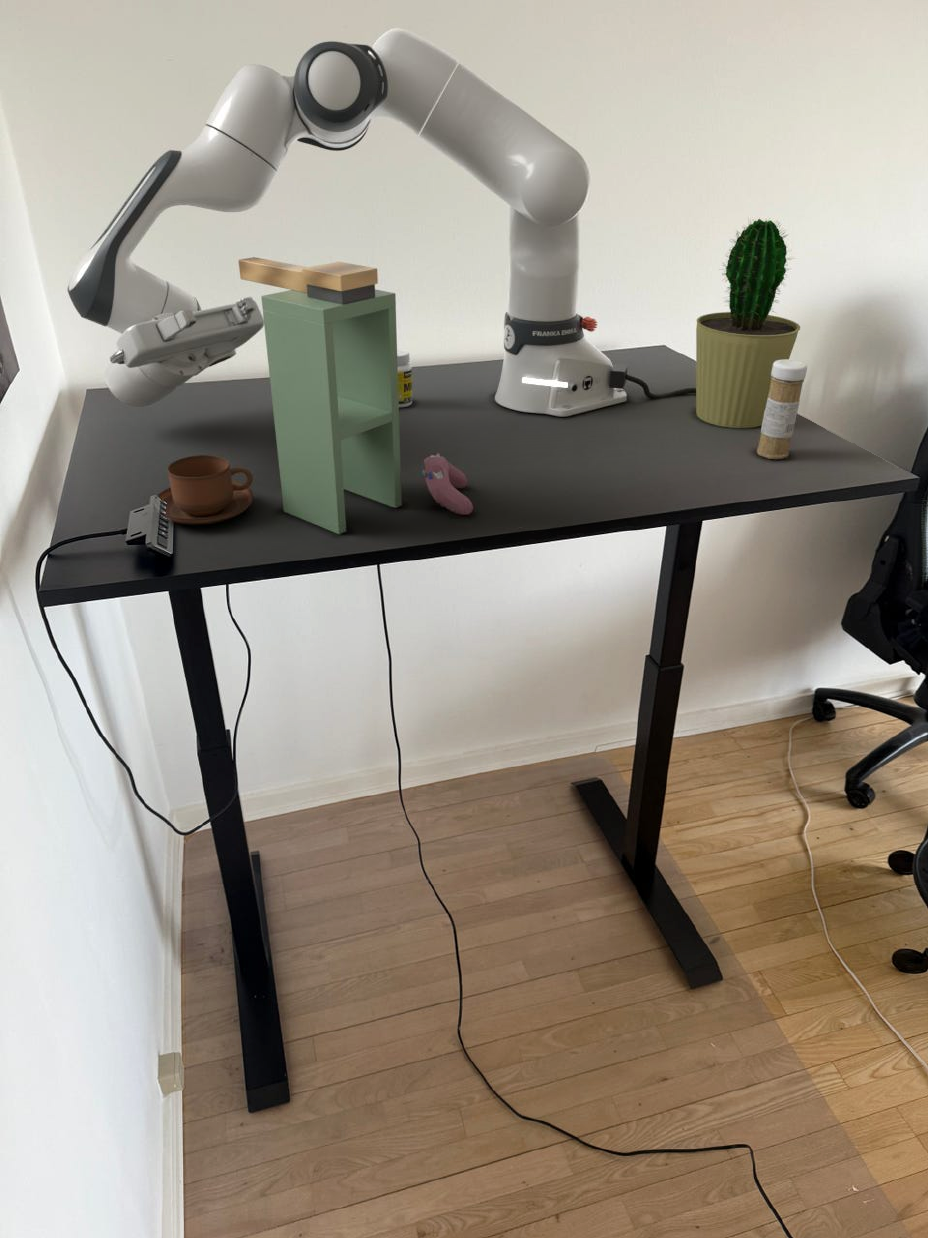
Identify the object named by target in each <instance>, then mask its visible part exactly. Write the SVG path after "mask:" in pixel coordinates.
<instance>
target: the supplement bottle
mask: <svg viewBox="0 0 928 1238" xmlns="http://www.w3.org/2000/svg"><path fill="white" fill-rule="evenodd" d="M410 360H411V357H410V352H409V351H407V350H403V349H397V364H398V398H399V408H407V407H410V406H411V405H412V404H413V372H412V371H413V367H412V365H411V363H410Z"/></svg>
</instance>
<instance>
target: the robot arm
mask: <svg viewBox="0 0 928 1238" xmlns="http://www.w3.org/2000/svg"><path fill="white" fill-rule="evenodd" d="M377 117H384V118H389V119H391V120H394V121H396V122H397V123H401V124H402V125H404V126H405V127H406V128H407V129H408V130H409V131H411V132H413V133H414V134H415V135H417V136H419V138H420V139H422V140H423V141H424V142H426V143H427V144H429V145H430V146H431V147H433V148H434V149H435V150H437V151H439V152H440V153H441V154H442V155H444V156H446V157H447V158H448V159H449V160H451V161H453V162H454V164H457V165H458V166H459V167H461V168H462V169H463V170H465V171H466V172H467V173H468V174H469V175H470V176H471V177H473V178H474V179H476V181H478V182H480V184H482V185H483V186H485V187H486V188H487V189H488V190H490V191H491V192H492V193H493V194H495V195H496V196H497V197H499V198H500V199H501V200H502V201H503V202H505V203H506V204H508V205H509V223H508V224H509V225H508V226H509V227H508V228H509V229H508V231H509V232H508V233H509V235H508V236H509V237H508V280H507V281H508V285H507V311H506V312H505V313H504V321H503V349H504V353H503V362H502V367H501V372H500V377H499V378H500V379H499V382H498V385H497V390H496V393H495V395H494V401H495V402H496V403H497V404H498V405H500V406H502V407H504V408H507V409H510V410H513V411H516V412H517V411H518V412H523V413H531V414H543V415H544V414H545V415H549V416H553V417H554V416H555V417H562V418H563V417H570V416H573V415H578V414H581V413H586V412H589V411H593V410H598V409H601V408H605V407H608V406H609V407H610V406H613V405H617V404H621V403H624V402H627V400H628V399H627V396H628V395H627V392H626V391H625V390H624V388H625V385H626V383H627V381H629V382H631V383H634V384H637V385H639V386H640V387H641V388H642V390H643V393H644V396H645V397H647V398H648V399H651V400H659V399H665V398H666V399H667V398H671V397H678V396H681V395H686V394H696V387H688V388H687V387H686V388H681V389H678V390H673V391H670V392H667V393H663V394H656V393H652V392H651V391H650V388H649V385H648V384H647V383H646V381H644V380H642V379H640V378H638V377H635V376H633V375H630V374H628V367H629V365H628V364H618V363H614V364H613V363H612V361H611V359H610V358H609V357H608V356H607V355H606V354H604V353H603V352H602V351H601V350H600V349H598V348H597V347H596V346H595V345H594V344H593V343H591V341H589V340H588V339H587V338H585V333H584V330H586V331H588V332H590V333H592V332H594V331H596V329H597V328H598V321H597V320H596V319H595V318H592V317H590V316H585V317H583V316H582V315H580V314H578V313H577V309H578V307H577V306H578V294H579V278H580V264H581V261H580V260H581V257H580V221H581V220H580V217H581V211H582V210H583V208H584V206H585V205H586V203H587V199H588V197H589V194H590V190H591V175H590V171H589V168H588V164H587V162H586V160H585V158H584V157H583V155H582V154H581V153H580V152H579V151H578V150H577V149H575V148H574V147H573V146H572V145H570V144H569V143H567V141H565V140H564V139H562V138H561V137H560V136H558V135H557V134H556V133H554V132H553V131H551V130H550V129H549V128H548V127H546V126H545V125H544V124H543V123H541V122H540V121H539V120H537V119H536V118H534V117H533V116H532V115H530V114H529V113H528V112H526V111H525V110H524V109H523V108H521V106H518V105H517V104H516V103H515V102H513V101H512V100H511V99H509V98H508V97H507V96H505V95H504V94H503V93H501V92H500V91H499V90H498V89H496V88H495V87H494V86H492V85H491V84H490V83H489V82H487V81H485V79H483V78H482V77H481V76H479V75H478V74H477V73H475V72H474V71H472V69H470V68H469V67H468V66H466V65H465V64H463V63H462V62H461V61H459V60H458V59H457V58H456V57H454V56H452V55H451V54H450V53H448V52H447V51H445V50H444V49H442V48H441V47H439V46H437V45H436V44H435V43H433V42H431V41H429V40H427V39H425V38H424V37H422V36H420V35H418V34H416V33H413V32H411V31H410V30H407V29H405V28H400V27H398V28H397V27H395V28H391V29H388V30H387V31H385V32H384V33H382V35H380V36H379V37H378V38H377V40H376V41H375V42H374V43H373V45H372V46H370V45H368V44H360V43H347V42H343V41H335V40H334V41H333V40H332V41H331V40H330V41H323V42H319V43H317V44H315V45H313V46H312V47H310V48H309V49H308V50H307V51H306V52H305V53H304V54H303V55H302V57H301V58H300V60H299V62H298V64H297V65H296V68H295V72H294V75H293V76H286V75H282V74H280V73H279V72H278V71H276V70H274V69H273V68H271V67H269V66H266V65H262V64H256V63H253V64H247V65H245V66H243V67H241V68H240V69H239V70H238V71H237V72H236V73H235V75H234V76H233V77H232V79H231V80H230V81H229V82H228V84H227V86H226V87H225V89H224V90H223V92H222V93H221V95H220V97H219V98H218V100H217V101H216V103H215V105H214V107H213V109H212V110H211V113H210V114H209V117H208V118H207V121H206V123H205V125H204V127H203V128H202V130H201V132H200V134H199V135H198V136H197V137H196V139H195V140H194V141H193V142H192V143H190V144H189V145H188V146H186V147H185V148H184V149H182V150H173V149H169V150H168V151H165V152H164V153H163V154H162V155H161V156H159V158H158V159H157V160H155V162H153V164H152V165H151V166H150V168H149V169H148V170H147V171H146V173H145V174H144V175H143V177H142V178H141V180H140V181H139V182H138V183H137V184H136V186H135V188H134V189H132V192H131V193H130V194H129V196H128V197H127V198H126V199H125V201H124V203H123V204H122V205H121V206H120V208H119V209H118V211H117V213H116V214H115V215H114V217H113V218H112V219H111V221H110V222H109V224H108V225H107V226H106V228H105V230H104V231H103V232H102V233H101V234H100V236H99V238H98V239H97V240H96V241H95V243H93V245H92V246H91V248H89V250H88V251H87V252H86V253H85V254H84V255H83V256H82V257H81V258H80V259H79V260H78V261H77V263H76V264H75V266H74V268H73V269H72V271H71V274H70V276H69V280H68V284H67V293H68V296H69V299H70V300H71V303H72V305H73V306H74V308H75V310H76V311H77V313H78V314H79V316H80V317H81V318H83V319H85V320H87V321H90V322H92V323H95V324H98V325H101V326H102V327H107V328H109V329H111V330H114V331H116V332H117V333H120V336H119V337H118V338H117V341H116V348H118V349H117V350H116V351H115V352H113V353H112V354H111V355H110V356H109V363H108V366H107V368H106V370H105V375H104V378H105V383H106V386H107V388H108V389H109V391H110V392H111V394H112V395H113V396H114V398H116V399H117V400H119V401H120V402H122V403H124V404H126V405H128V406H131V407H136V408H143V407H147V406H152V405H153V404H156V403H158V402H159V401H162V400H163V399H165V398H166V397H167V396H169V395H170V394H172V393H173V392H174V391H175V390H176V389H177V387H180V386H182V385H184V384H185V383H187V382H188V381H189V380H190V379H192V378H194V377H196V376H198V375H199V374H201V373H202V372H203V371H205V370H206V369H207V368H210V367H212V366H213V367H214V366H216V365H217V364H220V363H222V362H225V361H227V360H229V359H232V358H233V357H234V356H236V355H237V350H236V349H238V348H240V347H241V346H243V345H245V344H246V343H247V342H249V341H250V340H251V339H252V338H253V337H254V336H256V335H257V334H258V333H259V332H260V331H261V330H262V329H263V328H265V327H264V318H263V312H262V310H261V309H260V306H259V305H258V302H257V301H256V300H255V299H254V298H253V297H252V296H247V297H243V298H240V299H239V300H238V301H236V302H234V303H230V304H224V305H220V306H215V307H211V308H206V309H202V308H201V305H200V303H199V301H198V300H197V298H196V297H195V296H193V295H191V294H190V293H188V292H186V291H184V290H183V289H181V288H180V287H178V286H176V285H174V284H172V283H170V282H169V281H167V280H164V279H163V278H160V277H158V276H156V275H155V274H153V273H151V272H149V271H148V270H146V269H144V268H142V267H140V266H139V265H137V264H136V263H134V262H133V261H132V260H131V258H130V257H131V255H132V253H133V252H134V251H135V250H136V248H137V246H138V245H139V244H140V242H141V241H142V240H143V238H145V235H146V234H147V232H148V231H149V230H150V228H151V227H152V226H153V224H154V223H155V221H156V220H157V219H158V217H160V215H161V214H162V213H163V212H164V211H166V210H167V209H170V208H172V207H176V206H190V207H196V208H202V209H206V210H211V211H216V212H221V213H222V212H223V213H240V212H245V211H248V210H250V209H251V210H252V208H254V207H256V206H257V205H259V204H260V203H261V201H262V200H263V199H264V198H265V196H266V194H267V193H268V191H269V189H270V187H271V186H272V184H273V182H274V180H275V178H276V176H277V173H278V172H279V169H280V167H281V165H282V164H283V161H284V159H285V157H286V155H287V153H288V151H289V150H290V149H291V147H292V146H293V144H295V142H296V141H297V142H299V143H303V144H307V145H309V146H314V147H317V148H320V149H324V150H327V151H331V152H332V151H335V152H338V151H346V150H349V149H352V148H353V147H355V146H356V145H358V144H359V143H360V142H361V141H362V140H363V139H364V137H365V136H366V134H367V132H368V130H369V127H370V124H371V122H372V119H373V118H377Z"/></svg>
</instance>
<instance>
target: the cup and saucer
mask: <svg viewBox="0 0 928 1238" xmlns="http://www.w3.org/2000/svg"><path fill="white" fill-rule="evenodd" d="M239 473H242V474H244V475H245V476H246V482H245V483H242V482H238V481H234V480H232V476H234V475H235V474H239ZM167 476H168V480H169V485H170V487H168V488H165V490H163V491H160V493H158V494H157V495H156V496H158V497H159V498H160V499H161V500H163V501H165V502H166V503H167V504H166V511H165V512H166V514H165V516H166V517H167V518H169V519H170V520H171V521H170V520H169V521H170V522H173V523H177V524H182V525H193V526H195V525H196V526H198V525H199V526H200V525H210V524H217V523H220V522H221V523H222V522H224V521H228V520H230V519H233V518H235V517H237V516H239V515H240V514H242V513H244V512H245V511H246V510H247V509H248V508H249V507H250V505H252V503H253V499H254V492H253V490H252V489H251V488H250V487H251V486H252V483H253V474H252V472H251V471H250V470H249V469H247V468H246V467H244V466H243V467H242V466H237V467H232V468H231V464H230V461H229V460H228V459H226V458H225V457H223V456H220V455H215V454H214V455H213V454H200V455H199V454H196V455H191V456H190V455H189V456H185V457H182V458H179V459H176V460H174V461H172V462H171V463H169V465H168V466H167Z"/></svg>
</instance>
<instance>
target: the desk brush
mask: <svg viewBox="0 0 928 1238" xmlns="http://www.w3.org/2000/svg"><path fill="white" fill-rule="evenodd" d="M238 269H239V277H240V280H241V281H248V282H252V283H257V284H262V285H266V286H271V287H277V288H280V289H285V290H295V291H299V292H304V293H307V296H308V297H310V298H315V299H320V300H324V301H329V302H334V303H339V304H347V303H351V302H356V301H360V300H364V299H369V298H373V297H375V289H376V285H377V284H378V283H379V279H378V276H379V275H378V268H377V267H371V266H367V265H360V264H354V263H349V262H344V261H336V262H330V263H324V264H319V265H314V266H303V265H297V264H293V263H287V262H282V261H277V260H271V259H267V258H260V257H256V256H253V257H247V258H241V259H238Z"/></svg>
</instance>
